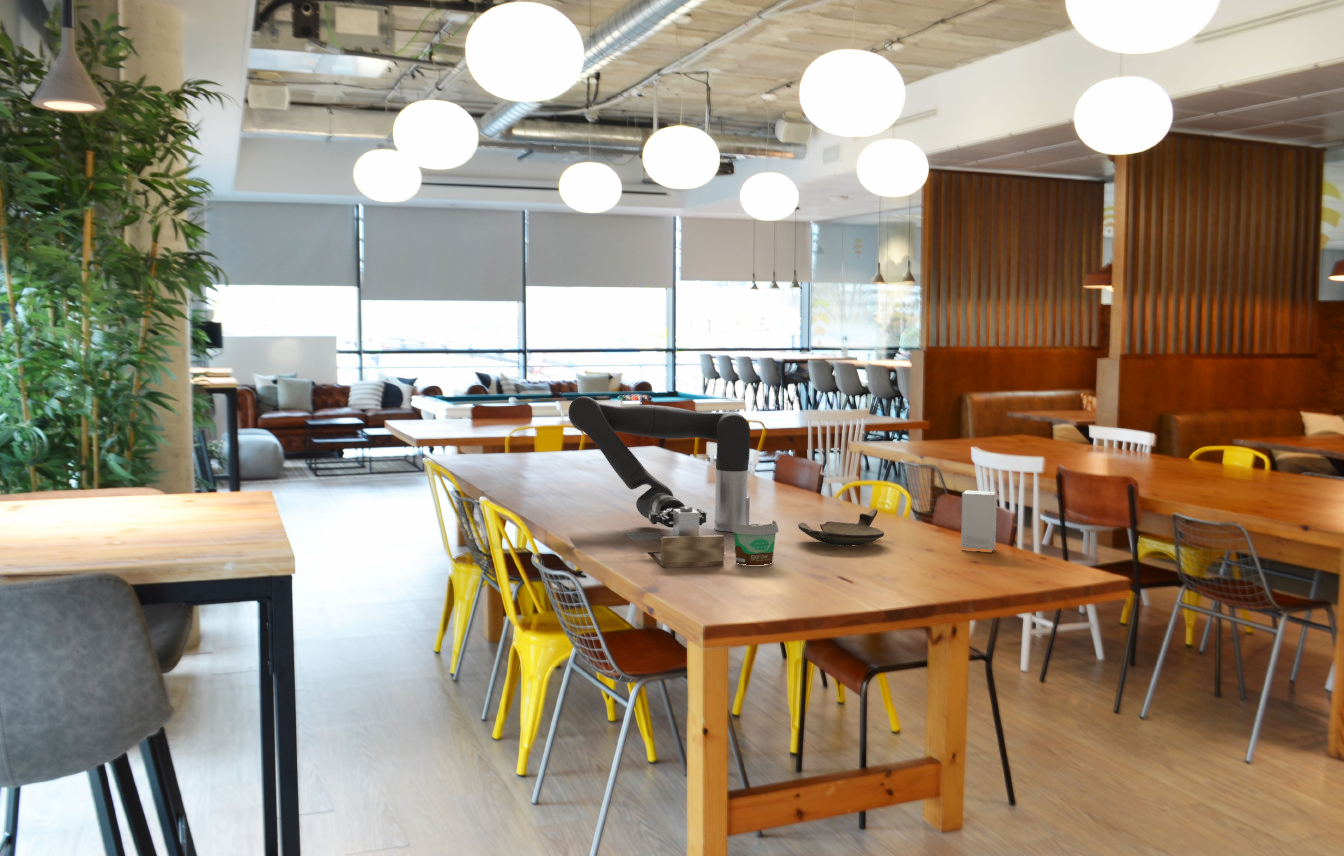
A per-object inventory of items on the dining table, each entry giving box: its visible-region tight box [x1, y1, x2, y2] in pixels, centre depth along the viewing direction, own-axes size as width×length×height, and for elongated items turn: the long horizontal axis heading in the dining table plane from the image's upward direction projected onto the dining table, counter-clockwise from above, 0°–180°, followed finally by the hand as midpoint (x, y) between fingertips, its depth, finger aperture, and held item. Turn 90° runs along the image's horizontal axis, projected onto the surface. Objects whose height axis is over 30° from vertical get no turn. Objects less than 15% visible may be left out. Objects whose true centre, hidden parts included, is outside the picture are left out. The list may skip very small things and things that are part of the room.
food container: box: [732, 520, 779, 565], centre depth 254 cm, size 12×6×10 cm, turn 117°
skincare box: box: [960, 489, 997, 550], centre depth 276 cm, size 8×7×16 cm
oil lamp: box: [797, 508, 885, 547], centre depth 282 cm, size 22×30×8 cm
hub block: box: [672, 506, 700, 537], centre depth 257 cm, size 5×6×12 cm
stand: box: [624, 532, 663, 541], centre depth 279 cm, size 9×9×2 cm
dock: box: [647, 534, 725, 568], centre depth 259 cm, size 15×19×7 cm
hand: (684, 521), depth 261 cm, fingers open, 8 cm apart
